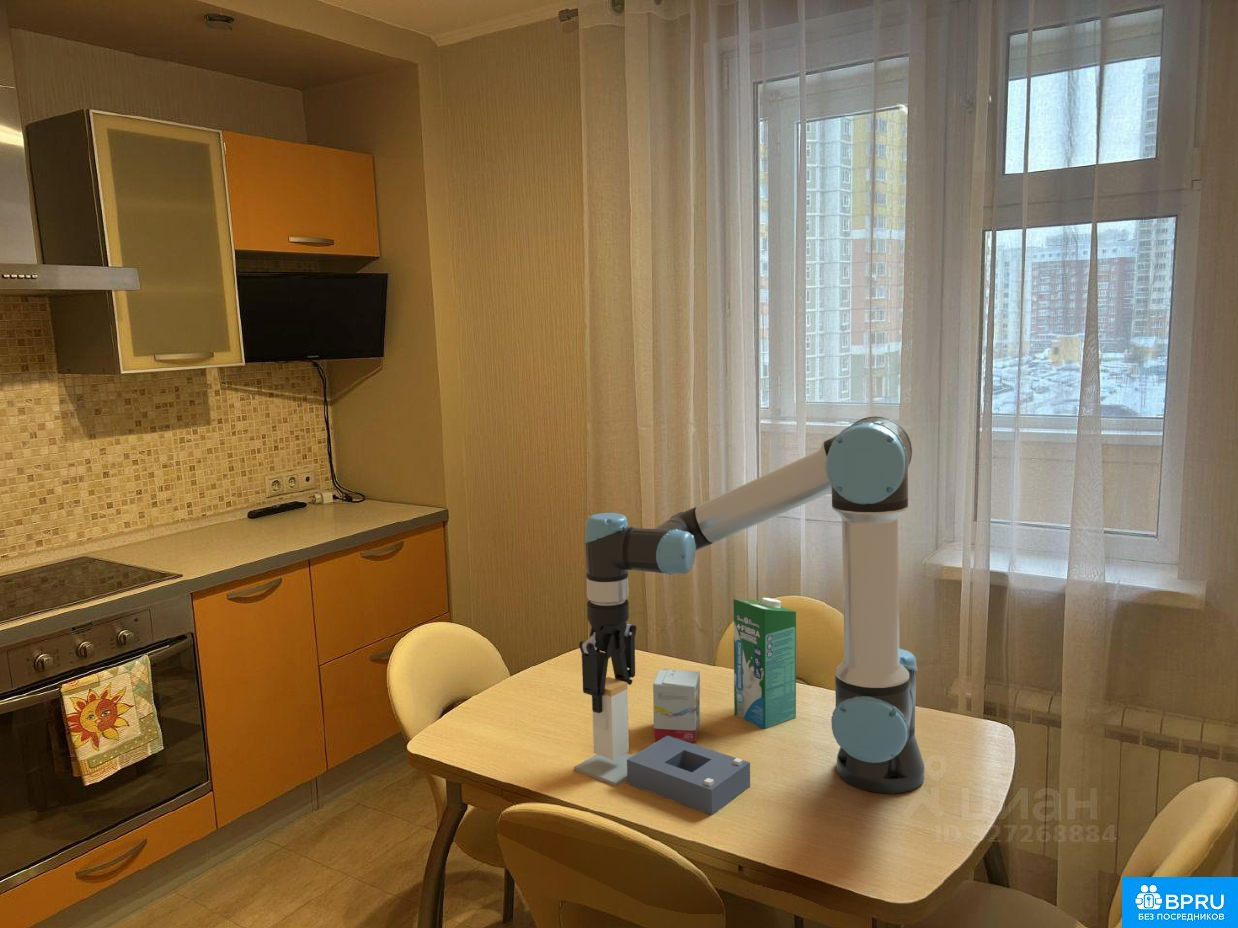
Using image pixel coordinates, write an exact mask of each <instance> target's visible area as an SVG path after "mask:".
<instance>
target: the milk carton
mask: <svg viewBox="0 0 1238 928" xmlns="http://www.w3.org/2000/svg"><path fill="white" fill-rule="evenodd" d="M781 604H782V601H780V600H779V599H775V598H770V597H762V598H761V600H754V599H751V600H750V599H741V598H740V599H738V598H733V692H734V694H733V699H734V700H733V706H734V707H733V709H734V710H733V711H734V712H733V714H734V715H736V716H737V717H739V718H741V719H743V720H745V721H747V722H749V723H752V724H753V725H756V727H759V728H761V729H764V730H765V729H768V728H770V727H772V726H773V727H774V726H776V725H779V724H781V723H784V722H787V721H789V720H793V719H795V718H796V717H797V716H796V715H797V611H795V610H794V609H793V610H792V609H790V608H787V607H783V606H781Z"/></svg>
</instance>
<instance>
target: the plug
mask: <svg viewBox="0 0 1238 928" xmlns="http://www.w3.org/2000/svg"><path fill="white" fill-rule="evenodd" d="M597 688H598V687H597ZM628 691H629V690H628V684H627V682H624V681H620V680H617V679H615V677H614V678H613V677H611V676H606V682H605V690H604V694H607V700H608V729H607V730H603V729H600V728H597V727H595V726H594V712H593V711H592V732H593V734H592V737H593V754H595V755H596V754H598V755H601V756H603V757H606V758H609V759H611V760H614V759H616V758H617V757H619V756H621V755H622V754H624V753H628V752H629V751H630V744H629V743H630V740H629V739H630V738H629V734H630V733H629V703H628V702H629V699H628V698H629V696H628V695H629V693H628Z"/></svg>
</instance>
